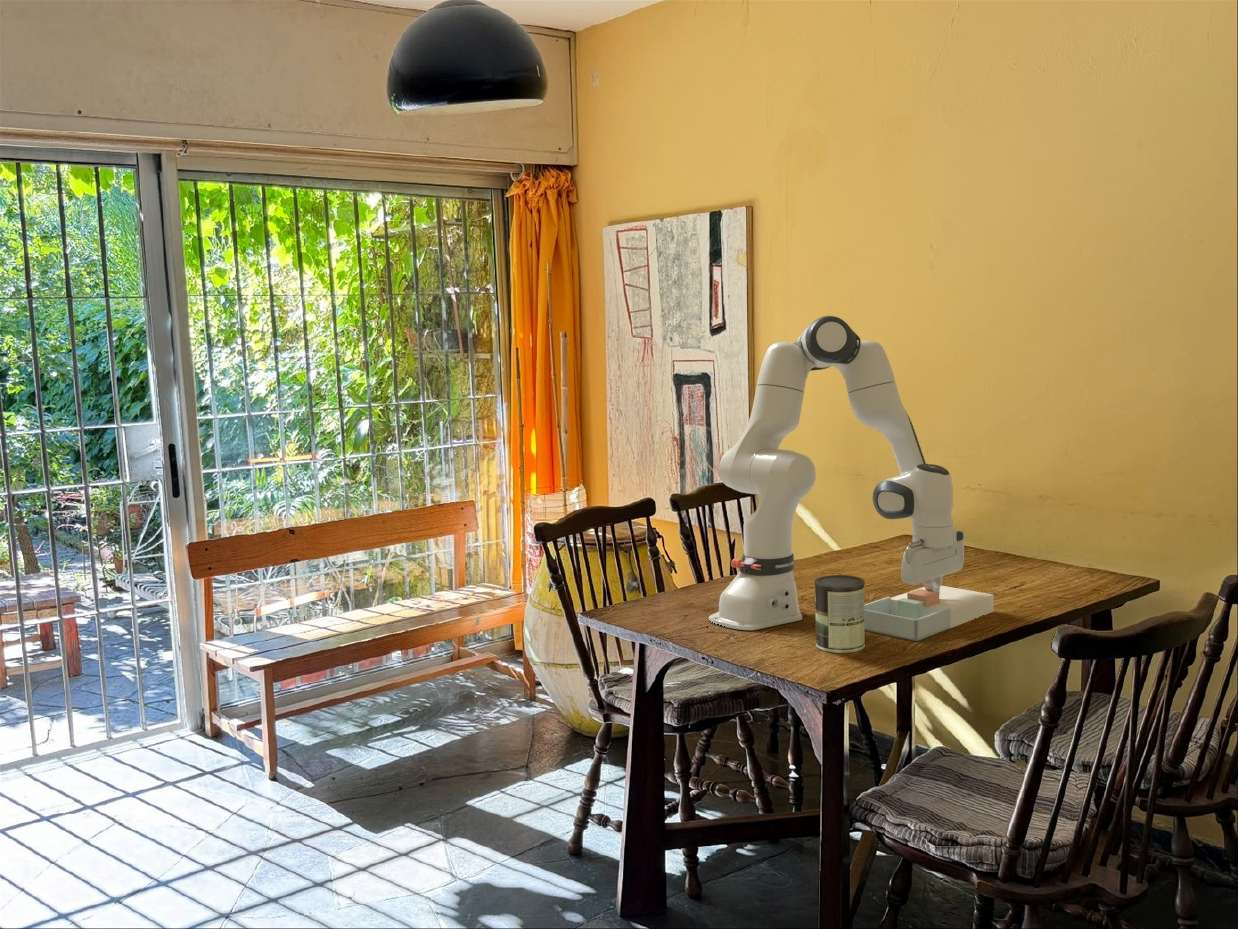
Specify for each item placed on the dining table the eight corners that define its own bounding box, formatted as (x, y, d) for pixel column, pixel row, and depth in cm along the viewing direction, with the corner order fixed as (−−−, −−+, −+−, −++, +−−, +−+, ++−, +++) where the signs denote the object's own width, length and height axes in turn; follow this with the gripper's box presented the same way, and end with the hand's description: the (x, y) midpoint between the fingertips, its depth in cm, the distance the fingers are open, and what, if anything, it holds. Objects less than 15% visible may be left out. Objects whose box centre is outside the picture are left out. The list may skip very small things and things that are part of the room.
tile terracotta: (926, 607, 251) (926, 596, 250) (907, 603, 254) (907, 593, 254) (939, 602, 254) (939, 592, 254) (919, 599, 258) (919, 588, 257)
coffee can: (806, 648, 237) (805, 582, 235) (830, 636, 245) (829, 572, 243) (850, 656, 231) (849, 588, 229) (874, 643, 239) (873, 578, 237)
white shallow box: (950, 628, 248) (950, 610, 247) (888, 615, 260) (888, 598, 259) (993, 611, 260) (993, 594, 259) (932, 600, 272) (932, 584, 271)
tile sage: (922, 623, 250) (916, 626, 249) (903, 619, 254) (897, 622, 252) (922, 601, 250) (916, 603, 248) (903, 598, 253) (897, 600, 252)
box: (916, 641, 239) (916, 620, 239) (854, 627, 251) (854, 608, 250) (950, 628, 248) (950, 608, 247) (888, 615, 260) (888, 596, 259)
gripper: (918, 545, 246) (918, 608, 248) (969, 531, 259) (969, 590, 261) (894, 542, 250) (894, 603, 252) (944, 528, 264) (944, 586, 266)
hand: (932, 596), depth 257 cm, fingers closed
